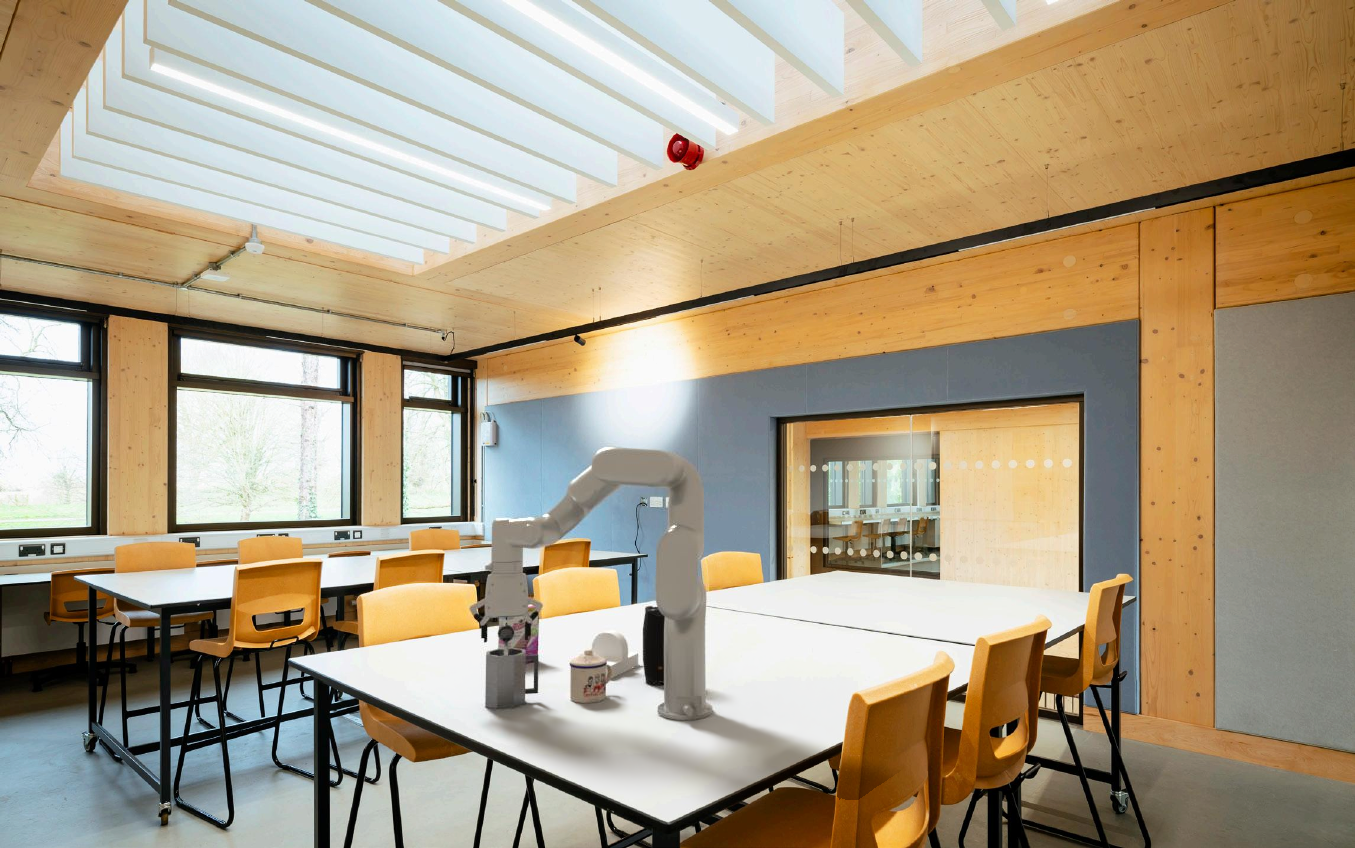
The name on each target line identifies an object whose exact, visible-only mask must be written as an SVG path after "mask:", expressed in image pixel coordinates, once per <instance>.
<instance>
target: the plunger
mask: <svg viewBox="0 0 1355 848" xmlns="http://www.w3.org/2000/svg"><path fill="white" fill-rule="evenodd" d="M514 634H515V631H514V628H513V627H512V626H510V625H503V626H501V627H500V628H499V627H498V631H497V638H498V640H499V639H500V640H501V641H503V642H504V656H508V641H510V640H512V639H513V637H514Z"/></svg>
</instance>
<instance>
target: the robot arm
mask: <svg viewBox="0 0 1355 848" xmlns="http://www.w3.org/2000/svg"><path fill="white" fill-rule="evenodd" d="M622 486H634V487H635V486H636V487H637V486H638V487H647V488H656V489H657V488H661V489H663V488H665V489H666V490H667V492H668V502H667V528H666V530H665V532H663V534H662V535H661V536H660V538H659V540H658V542H657V544H656V545H657V546H656V550H655V551H656V554H655V586H654V588H655V589H654V591H655V593H654V595H655V597H654V598H655V603H656V607H658V609H659V611H660V612H661V613H662V614H663V615H664V616H665V622H664V682H663V694H664V696H663V700H664V701H663V702H662V703H661V704H659V705H658V706H657V714H658V715H659V716H661V717H663V718H666V719H670V720H677V721H690V720H691V721H692V720H701V719H704V718H708V717H710V715H712V714H713V711H714V710H713V706H712V705H711V704H710V703H709V702H707V701H706V700H707V699H706V697H707V696H706V695H707V694H706V693H707V692H706V690H707V688H706V686H707V685H706V684H707V683H706V618H707V617H706V613H707V612H706V611H707V590H706V586H705V584H704V581H702V579H701V578H700V576H699V561H700V560H701V559H702V557H703V555H704V552H705V510H704V509H705V507H704V505H705V494H704V493H705V492H704V485H703V481H702V478H701V475H700V474H699V472H698V470H697V468H696V467H695V466H694V464H692V463H691V462H690V461H688V460H687V459H685V458H684V457H683V456H680V455H678V454H676V453H674V452H671V451H666V450H661V449H645V448H633V447H631V448H629V447H628V448H627V447H620V446H619V447H618V446H605V447H603V448H601V449H599V450H598V451H597V452H596V453H595V454H594V455H593V457H592V460H591V465H590V466H589V467H587V468H585V470H584V471H582V472H580V474H579V475H577V477H575V478H573V479H572V480H571V481H570V482H569V483H568V485H567V490H566V493H565V495H564V497H563V498H562V499H561V500H560V501H559V502H558V503H556V505H555V506H553V507H552V508H551V509H550V510H548V511H547V512H546V513H545V514H544V515H541V516H531V517H525V518H519V517H497V518H495V519H494V520H493V521H492V522H491V523H492V524H491V552H490V553H491V561H490V563H488V564H486V563H485V564H484V566H485V567H484V570H485V571H489V572H491V573H490V574H488V575H487V578H486V584H485V595H484V598H483V599H481V600H480V601H479V600H478V601H477V602H476V603H473V604H472V605H470V606H469V611H470V613H471V615H472V616H473V618H474V620H475V621H476V622H477V623H478V624H479V625H480V627H481V628H480V639H483V643H484V644H485V643H487V642H488V624H487V623H488V621H489V620H490V619H492V618H493V619H494V618H495V619H496V618H498V619H499V617H519V616H523V618H524V619H525V620H526V622H525V640H528V636H531V623H532V621H533V620H534V619H535V618H536V617H537V616H538V615H539V616H540V612H541V611H542V609H543V602H541V601H538V600H536V599H533V598H532V597H529V591H528V590H529V587H528V580H527V574H526V573H523V572H524V569H523V568H524V549H531V550H532V549H539V548H540V549H541V548H544V547H549V546H552V545H554V544H556V543H557V542H559V541H560V540H561V539H562V538H564V537H565V536H566V535H567V534H569V533H570V532H571V531H572V530H573V529H575V528H576V527H577V526H578V525H579V524H580V523H581V522H582V521H583V520H584V519H585V518H586V517H587V516H588V515H589V514H590V513H591V512H592V511H593V510H594V509H595V508H597V506H599V505H600V504H601V503H603V502H604V501H605V500H606V499H607V498H609V497H610V496H611V495H612V494H614V493H615V492H616V491H617V490H619V489H620V488H621V487H622ZM528 605H534V606H535V607H536V609H535V611H534V612H533V613H532V614H531V615H529V614H528V613H527V612H528ZM483 606H484V615H483V616H482V615H480V614H479V612H478V609H480V608H482V607H483Z"/></svg>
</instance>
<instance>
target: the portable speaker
mask: <svg viewBox="0 0 1355 848" xmlns="http://www.w3.org/2000/svg"><path fill="white" fill-rule="evenodd" d="M644 612H645V613H644V618H643V626H642V664H643V671H644V677H645V684H647V685H649V686H654V685H655V683H664V622H665V616H664V615H663V614H662V613H661V612H660V611H659V609H658V607H657V606H653V605H648V606H645V608H644Z"/></svg>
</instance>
